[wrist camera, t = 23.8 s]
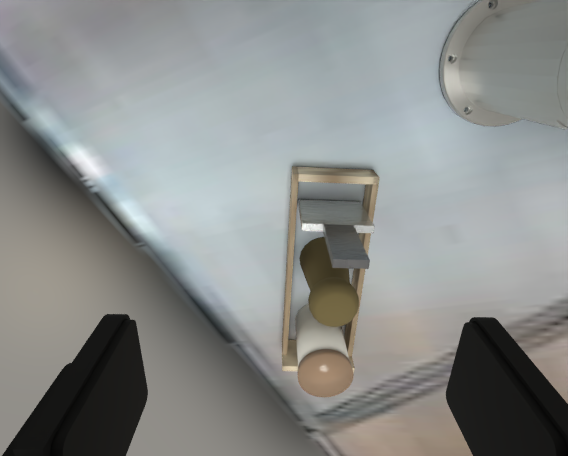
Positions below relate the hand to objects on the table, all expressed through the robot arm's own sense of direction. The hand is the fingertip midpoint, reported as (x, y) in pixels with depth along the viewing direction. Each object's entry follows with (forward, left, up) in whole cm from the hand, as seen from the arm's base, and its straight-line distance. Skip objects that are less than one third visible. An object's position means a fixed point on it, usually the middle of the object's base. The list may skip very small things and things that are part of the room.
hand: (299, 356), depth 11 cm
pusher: (-6, +7, -33) cm, 34 cm away
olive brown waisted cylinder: (-6, +15, -33) cm, 37 cm away
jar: (-6, +24, -33) cm, 42 cm away
